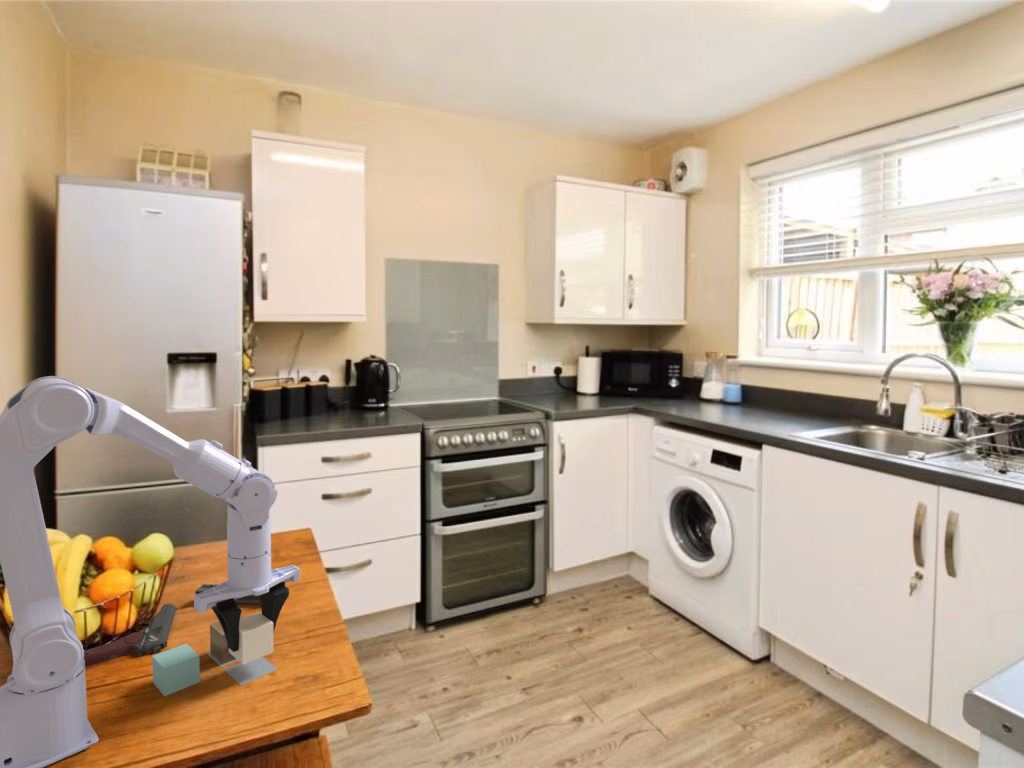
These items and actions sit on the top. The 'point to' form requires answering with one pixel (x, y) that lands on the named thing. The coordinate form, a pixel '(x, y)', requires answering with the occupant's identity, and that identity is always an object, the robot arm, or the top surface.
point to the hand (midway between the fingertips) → (250, 641)
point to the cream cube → (254, 638)
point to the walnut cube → (219, 643)
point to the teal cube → (175, 669)
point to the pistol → (137, 639)
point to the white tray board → (247, 669)
